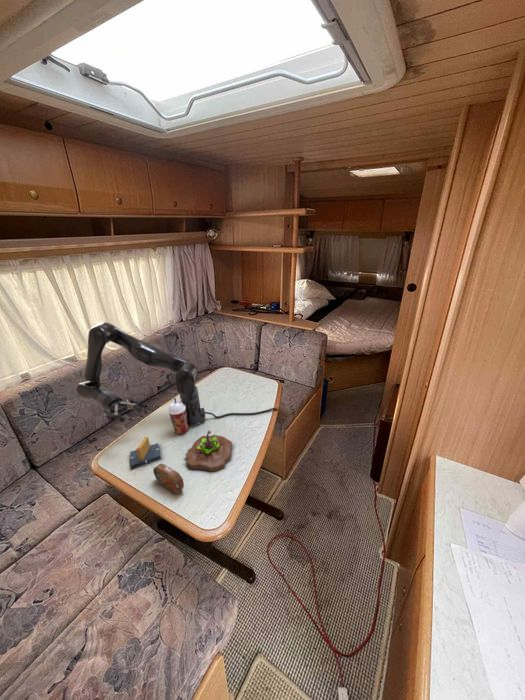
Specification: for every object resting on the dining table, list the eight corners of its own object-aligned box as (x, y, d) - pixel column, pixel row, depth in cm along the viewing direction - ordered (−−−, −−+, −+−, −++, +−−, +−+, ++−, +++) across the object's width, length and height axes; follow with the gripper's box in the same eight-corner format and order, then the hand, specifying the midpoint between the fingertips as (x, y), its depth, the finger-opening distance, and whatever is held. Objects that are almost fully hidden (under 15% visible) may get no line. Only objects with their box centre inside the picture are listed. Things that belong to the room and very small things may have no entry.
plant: (237, 441, 131) (236, 422, 126) (224, 474, 113) (221, 453, 109) (198, 436, 135) (196, 417, 130) (180, 467, 117) (176, 447, 113)
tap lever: (147, 447, 126) (144, 436, 124) (150, 447, 126) (148, 436, 124) (139, 460, 119) (136, 449, 116) (142, 460, 119) (139, 449, 116)
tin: (154, 480, 112) (150, 464, 108) (161, 474, 114) (157, 459, 111) (180, 496, 104) (177, 480, 101) (186, 490, 107) (183, 474, 103)
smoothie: (193, 426, 141) (187, 394, 133) (184, 437, 134) (176, 404, 126) (179, 423, 144) (172, 392, 136) (169, 434, 137) (161, 401, 129)
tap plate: (158, 444, 131) (157, 440, 130) (161, 461, 121) (160, 457, 120) (130, 452, 126) (129, 449, 125) (132, 471, 116) (130, 468, 115)
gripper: (93, 401, 122) (117, 416, 116) (122, 388, 134) (145, 401, 128) (95, 414, 126) (118, 430, 119) (123, 400, 137) (145, 413, 131)
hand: (132, 415), depth 124 cm, fingers open, 8 cm apart
